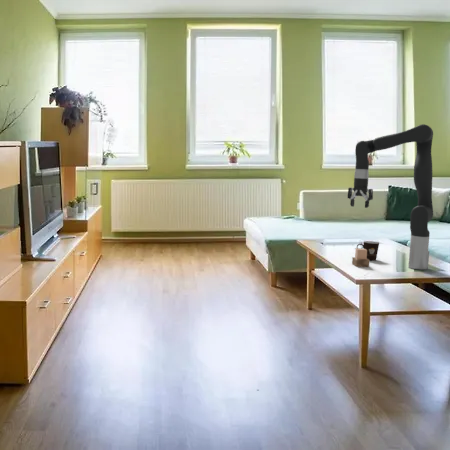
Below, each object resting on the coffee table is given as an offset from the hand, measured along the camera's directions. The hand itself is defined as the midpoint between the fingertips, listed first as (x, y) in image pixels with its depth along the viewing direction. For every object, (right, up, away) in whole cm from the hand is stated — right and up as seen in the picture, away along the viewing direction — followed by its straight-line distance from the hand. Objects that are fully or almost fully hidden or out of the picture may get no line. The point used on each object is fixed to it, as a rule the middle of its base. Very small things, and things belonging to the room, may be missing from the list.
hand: (359, 207), depth 306 cm
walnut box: (-2, -32, -11) cm, 34 cm away
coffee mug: (+7, -30, +10) cm, 32 cm away
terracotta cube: (-2, -28, -11) cm, 30 cm away
